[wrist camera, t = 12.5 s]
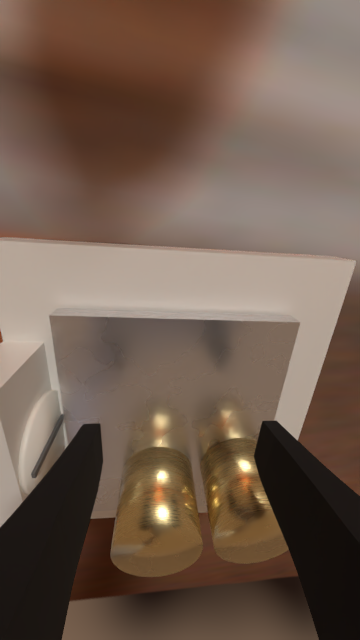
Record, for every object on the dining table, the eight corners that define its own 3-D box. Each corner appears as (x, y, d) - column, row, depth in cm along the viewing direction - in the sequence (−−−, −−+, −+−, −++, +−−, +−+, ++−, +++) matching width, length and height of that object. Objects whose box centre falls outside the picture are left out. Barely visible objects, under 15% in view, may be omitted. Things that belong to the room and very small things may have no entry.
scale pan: (82, 496, 17) (78, 512, 16) (57, 308, 12) (48, 315, 11) (247, 488, 18) (251, 503, 17) (290, 315, 13) (300, 322, 12)
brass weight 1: (123, 497, 16) (113, 580, 12) (120, 448, 14) (106, 528, 11) (190, 493, 16) (199, 572, 13) (194, 445, 15) (206, 520, 11)
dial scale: (54, 496, 20) (13, 603, 14) (3, 237, 12) (-124, 249, 7) (266, 486, 21) (303, 578, 16) (333, 256, 14) (446, 278, 9)
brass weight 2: (265, 480, 16) (296, 556, 13) (201, 489, 16) (214, 569, 13) (269, 433, 15) (307, 504, 11) (198, 443, 15) (212, 518, 11)
